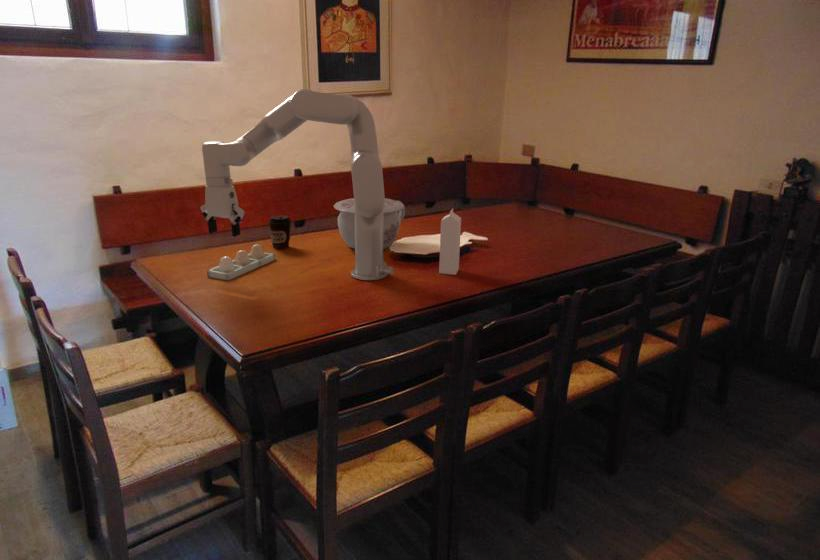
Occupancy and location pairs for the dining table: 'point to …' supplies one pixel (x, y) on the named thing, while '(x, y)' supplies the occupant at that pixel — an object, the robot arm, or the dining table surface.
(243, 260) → the brown egg middle
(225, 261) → the white egg shape
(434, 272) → the dining table surface
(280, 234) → the coffee cup
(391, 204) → the chamber pot
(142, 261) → the dining table surface
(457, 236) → the milk
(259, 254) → the brown egg end
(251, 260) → the egg carton
